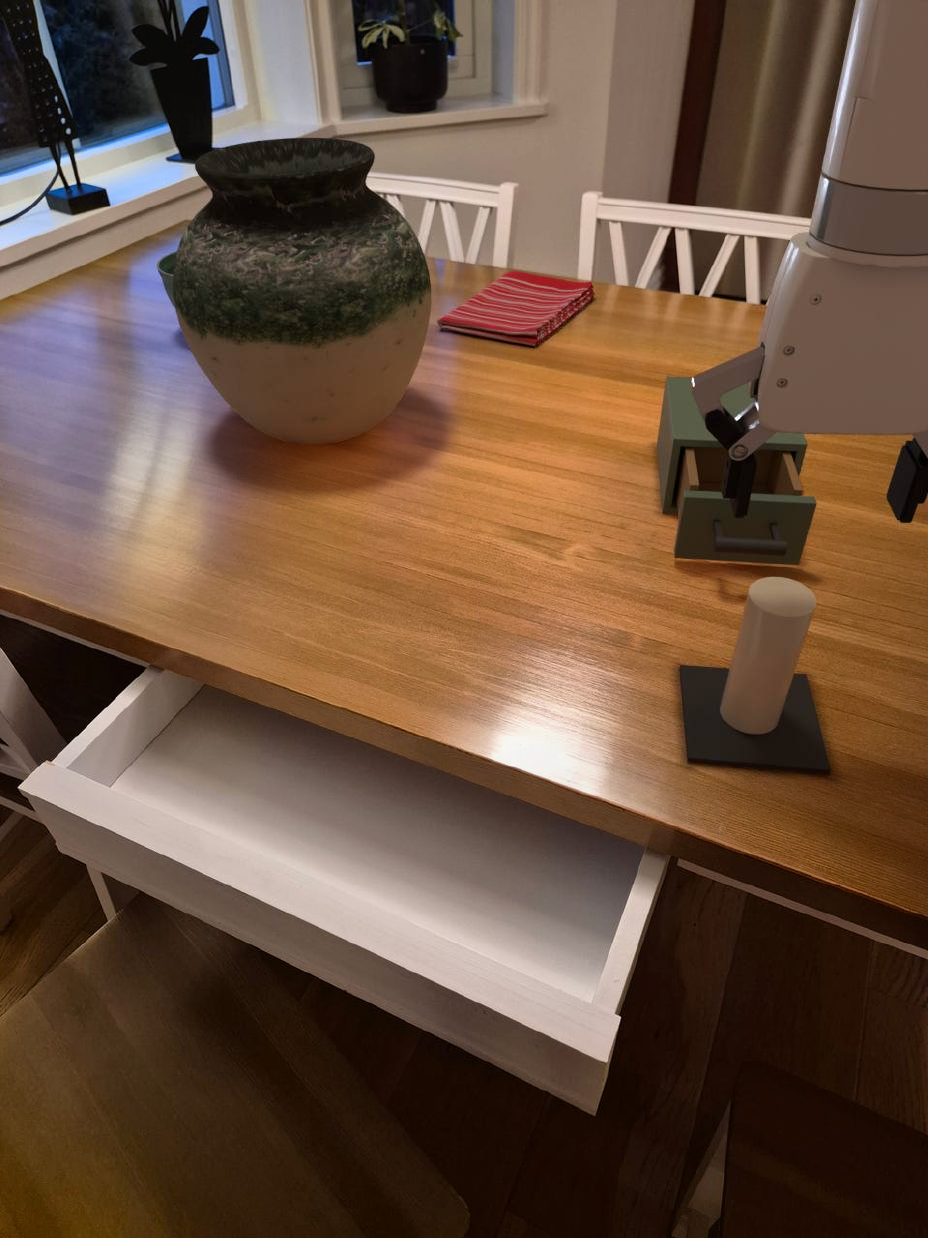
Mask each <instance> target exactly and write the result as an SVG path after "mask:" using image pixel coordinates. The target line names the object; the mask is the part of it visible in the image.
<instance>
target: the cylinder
mask: <svg viewBox="0 0 928 1238" xmlns="http://www.w3.org/2000/svg"><path fill="white" fill-rule="evenodd" d="M816 606H817V598H816V595H815V593H814V592H813V590H811V589H810V588H809V587H807V586H806V585H805V584H803V583H802V582H799V581H797V580H795V579H791V578H788V577H783V576H766V577H762V578H759V579H757V580H755V581H754V582H753V583H752V584H751V585H750V586H749V588H748V592H747V596H746V600H745V603H744V608H743V612H742V616H741V620H740V624H739V628H738V632H737V636H736V639H735V644H734V648H733V652H732V656H731V660H730V664H729V672H728V676H727V680H726V684H725V688H724V692H723V696H722V700H721V704H720V713H721V716H722V717H723V719H724V720H725V722H726V723H727V724H729V725H730V726H731V727H733V728H734V729H736V730H738V731H741V732H744V733H748V734H764V733H768V732H770V731H772V730H773V729H774V728H776V726H777V725H778V723H779V720H780V717H781V713H782V710H783V707H784V704H785V701H786V698H787V695H788V691H789V688H790V685H791V682H792V679H793V676H794V673H796V669H797V666H798V663H799V659H800V657H801V654H802V650H803V648H804V644H805V642H806V638H807V634H808V631H809V628H810V626H811V622H812V620H813V616H814V614H815V613H814V612H815V610H816Z"/></svg>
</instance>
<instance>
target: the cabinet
mask: <svg viewBox="0 0 928 1238" xmlns="http://www.w3.org/2000/svg"><path fill="white" fill-rule="evenodd" d="M693 377H694V376H669V375H668V376H666V377H665V384H664V390H663V398H662V405H661V411H660V419H659V426H658V432H657V433H658V434H657V441H656V452H657V465H658V476H659V487H660V488H659V491H660V501H661V513H662V514H669V515H670V514H671V515H673V514H674V515H678V510H677V501H676V492H675V479H676V473H677V467H678V461H679V454H680V448H681V446H689V447H712V448H724V447H723V446H722V445H721V444H720V443H719V442H718V440H717V439H716V438H715V437H714V436H713V435H712V434H711V433H710V432H709V431H708V430H707V428H706V425H705V423H704V420H703V418H702V416H701V414H700V411H699V409H698V407H697V404H696V402H695V400H694V397H693V395H692V390H691V384H690V382H691V379H692V378H693ZM720 401H721V404H722V406H723V407H724V408H725V409H726V410H727V411H728V412H729V413H730V414H731V415H732V416H733V417H734V418H736V417H737V416H738V415H739V414H740V413H741V412H742V411H743V410H745V409H746V408H747V407H748V406H749V405H750V404H751V403H753V402H754V401H755V399H754V398H750V393H749V383H746V384H744V385H742V386H740V387H737V388H735V389H733V390H730V391H728V392H726V393H724V394H723V395H722V396H721V397H720ZM808 446H809V444H808V441H807V439H806V436H805V434H793V433H780V432H777V433H776V434H774V435H773V436H772V437H771V438H770V439H768V440H767V441H766V442H765V443H764V444H762V445H761V446H760V447H759V448H758V449H759V450H783V451H790V453H791V456H792V459H793V462H794V465H795V468H796V471H797V474H798V477H799V478H800V475H801V472H802V468H803V465H804V460H805V456H806V453H807V449H808Z"/></svg>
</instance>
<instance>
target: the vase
mask: <svg viewBox="0 0 928 1238" xmlns="http://www.w3.org/2000/svg"><path fill="white" fill-rule="evenodd" d="M375 160H376V155H375V152H374V150H373V148H371V147H370V146H368V145H366V144H364V143H361V142H357V141H353V140H347V139H341V138H328V137H287V138H285V137H284V138H272V139H263V140H255V141H246V142H241V143H236V144H230V145H227V146H223V147H219V148H217V149H213V150H210V151H208V152H206V153H204V154H202V155H200V156H199V157H198V158H196V160H195V163H194V169H195V171H196V173H197V175H198V176H199V177H200V179H201V180H202V181H203V182H204V183H205V184H206V185H207V187H208V188H209V190H210V192H211V198H210V200H209V201H208V202H207V203H206V204H205V205H204V206H203V207H202V208H201V209H200V210H199V211H198V212H197V213H196V214H195V216H194V217H193V218H192V219H191V220H190V222H189V223H188V225H187V226H186V228H185V230H184V232H183V234H182V236H181V238H180V240H179V242H178V246H177V249H176V251H177V253H176V257H175V262H174V271H173V298H174V305H175V307H174V310H175V314H176V318H177V321H178V324H179V327H180V330H181V333H182V335H183V338H184V340H185V342H186V344H187V346H188V348H189V350H190V351H191V354H192V355H193V357H194V359H195V360H196V362H197V364H198V365H199V368H200V369H201V370H202V372H203V373H204V375H205V376H206V378H207V380H209V382H210V383H211V385H212V386H213V388H214V389H215V390H216V391H217V392H218V394H219V395H220V396H221V398H223V400H224V401H225V402H226V403H227V405H229V407H230V408H231V409H232V410H233V411H234V412H235V413H236V414H237V415H238V416H239V417H240V418H242V419H243V420H244V421H245V422H246V423H248V424H249V425H251V426H252V427H253V428H254V429H256V430H258V431H259V432H261V433H264V434H265V435H267V436H270V437H272V438H274V439H277V440H280V441H284V442H287V443H292V444H296V445H297V444H298V445H307V446H320V445H331V444H336V443H342V442H344V441H349V440H351V439H353V438H356V437H358V436H362V435H363V434H365V433H367V432H368V431H371V430H372V429H373V428H375V427H377V426H378V425H379V424H380V423H382V422H383V421H384V420H385V419H386V418H387V417H388V416H389V415H390V414H391V413H392V412H393V410H395V408H396V407H397V405H398V404H399V403H400V401H401V400H402V398H403V396H404V395H405V393H406V391H407V389H408V387H409V385H410V383H411V381H412V378H413V376H414V374H415V373H416V372H415V371H416V369H417V367H418V364H419V361H420V360H421V359H420V358H421V356H422V353H423V350H424V346H425V343H426V339H427V334H428V331H429V327H430V326H429V325H430V320H431V314H432V313H431V312H432V281H431V275H430V270H429V265H428V262H427V258H426V256H425V253H424V250H423V248H422V245H421V243H420V241H419V238H418V237H417V235H416V233H415V232H414V229H413V228H412V226H411V225H410V223H409V222H408V220H407V219H406V218H405V217H404V215H403V214H402V213H401V212H400V211H399V210H398V208H397V207H395V206H394V205H392V203H390V202H389V201H388V200H387V199H385V198H383V197H382V196H381V195H380V194H378V193H376V192H375V191H374V190H372V189H370V188H369V186H368V185H367V178H368V175H369V174H370V171H371V169H372V167H373V165H374V162H375Z"/></svg>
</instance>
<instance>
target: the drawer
mask: <svg viewBox="0 0 928 1238" xmlns="http://www.w3.org/2000/svg"><path fill="white" fill-rule="evenodd" d="M754 455H755V458H756V462H757V467H756V473H755V478H754V483H753V488H752V493H751V498H750V503H749V508H748V513H747V516H744V517H743V518H734V515H733V510H732V506H731V501H730V499H723V497H722V480H723V474H724V468H725V462H726V456H727V450H726V449H725V448H712V447H689V446H681V448H680V454H679V461H678V467H677V473H676V479H675V492H676V501H677V510H678V514H677V519H678V524H677V529H676V536H675V541H674V548H673V557H674V559H683V560H700V561H701V560H702V561H717V562H718V561H719V562H735V563H750V564H751V563H752V564H769V565H787V566H800V562H801V559H802V556H803V552H804V550H805V549H804V548H805V546H806V541H807V538H808V535H809V531H810V529H811V525H812V521H813V518H814V514H815V511H816V508H817V504H818V503H817V501H816V497H815V496H811V495H809V496H808V495H803V492H804V489H803V486H802V483H801V480H800V476H799V477H798V474H797V471H796V468H795V465H794V462H793V459H792V456H791V453H790V451H783V450H759V449H757V450H755V451H754Z"/></svg>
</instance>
